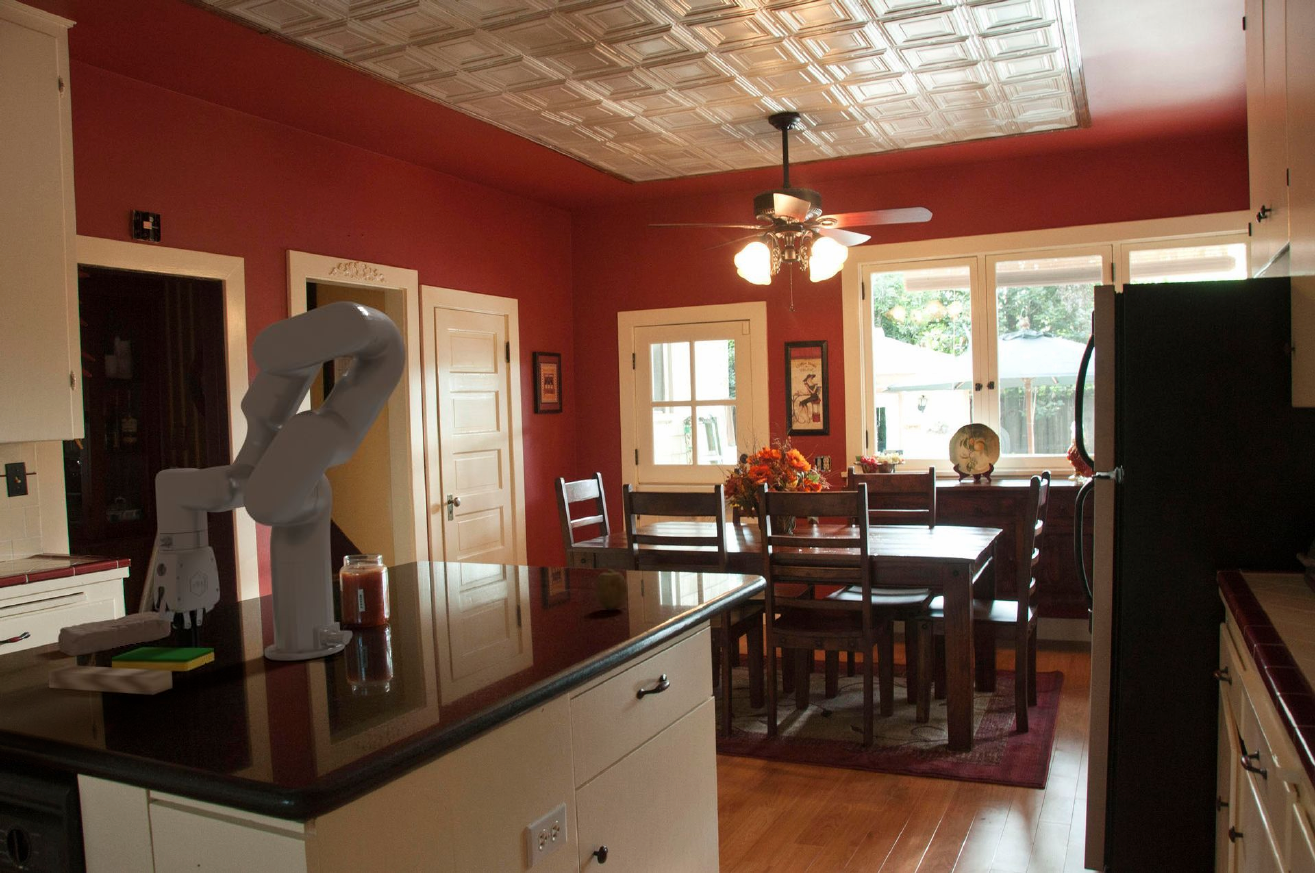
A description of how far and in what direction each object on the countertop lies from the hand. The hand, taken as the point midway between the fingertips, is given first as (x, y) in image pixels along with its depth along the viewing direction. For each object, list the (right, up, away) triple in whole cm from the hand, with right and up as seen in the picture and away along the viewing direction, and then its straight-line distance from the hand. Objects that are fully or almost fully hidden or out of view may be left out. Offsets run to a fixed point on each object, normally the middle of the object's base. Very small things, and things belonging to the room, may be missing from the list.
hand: (188, 650), depth 163 cm
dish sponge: (-2, -2, -5) cm, 6 cm away
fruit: (+70, +2, +24) cm, 74 cm away
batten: (-3, -2, -18) cm, 19 cm away
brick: (-19, -2, +12) cm, 23 cm away
